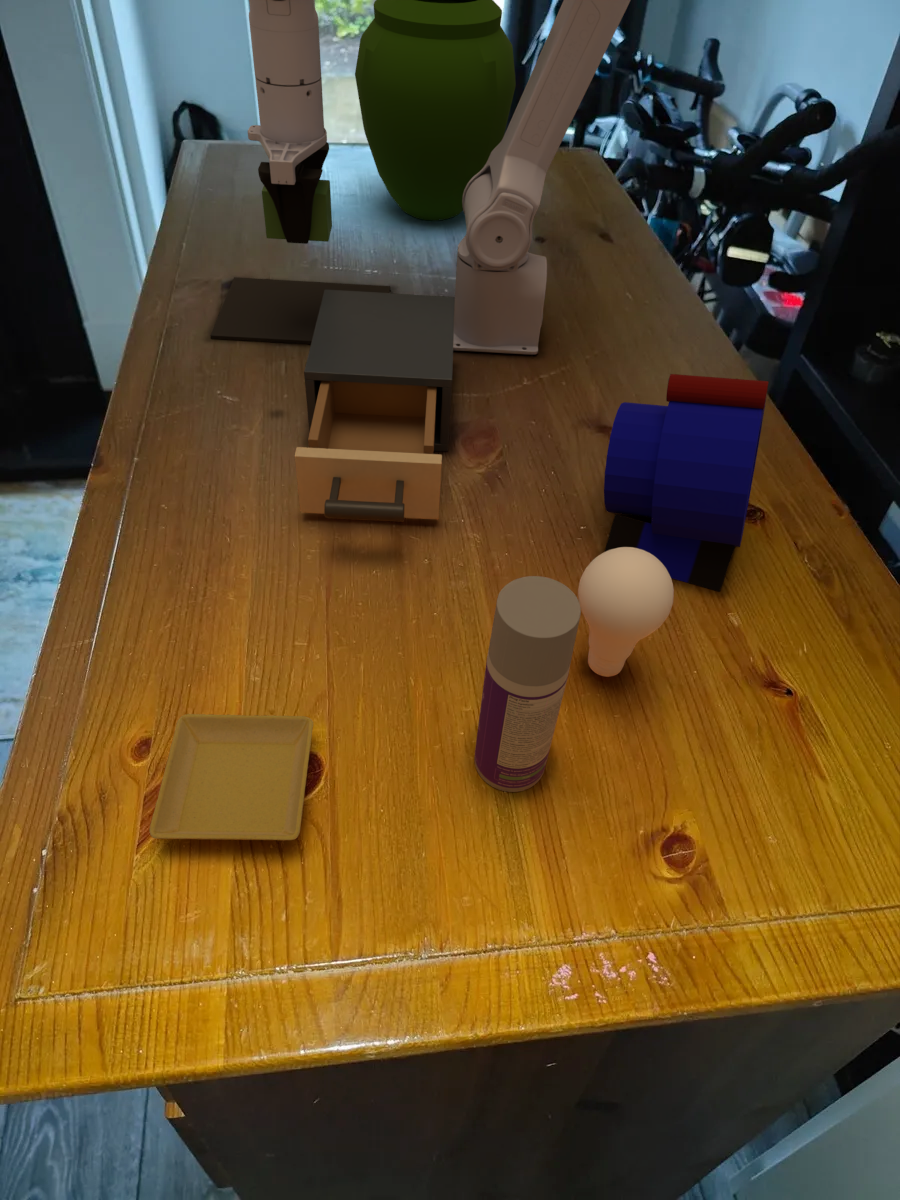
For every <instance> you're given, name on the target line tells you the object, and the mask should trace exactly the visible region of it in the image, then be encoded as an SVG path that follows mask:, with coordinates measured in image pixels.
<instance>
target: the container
mask: <svg viewBox="0 0 900 1200" xmlns="http://www.w3.org/2000/svg"><path fill="white" fill-rule="evenodd" d="M581 615H582V611H581V607H580V603H579V598H578V596H577V595H576V594H575V593H574V591H572V589H571V588H569V587H568V586H567V585H565V584H564V583H562V582H560V581H558V580H556V579H554V578H551V577H545V576H541V575H528V576H522V577H518V578H515V579H513V580H512V581H510V582H508V583H506V584H505V585H504V586H503V587H502V589H501V590H500V591H499V593H498V595H497V599H496V604H495V610H494V615H493V621H492V628H491V633H490V640H489V645H488V649H487V650H488V651H487V656H486V662H485V670H484V678H483V685H482V693H481V701H480V710H479V716H478V723H477V725H478V726H477V734H476V741H475V748H474V767H475V769H476V772H477V774H478V775H479V776H480V778H481V779H482V780H483V781H484V782H485V783H486V784H487V785H489V786H490V787H492V788H493V789H496V790H499V791H502V792H505V793H506V792H508V793H518V792H523V791H527V790H529V789H531V788H532V787H534V786H536V784H537V783H539V781H540V780H541V779H542V777H543V775H544V773H545V769H546V766H547V762H548V758H549V755H550V750H551V746H552V742H553V738H554V734H555V730H556V726H557V722H558V719H559V714H560V710H561V706H562V702H563V699H564V698H563V697H564V694H565V691H566V686H567V681H568V677H569V675H570V674H569V673H570V668H571V663H572V659H573V653H574V648H575V644H576V643H575V642H576V639H577V634H578V630H579V624H580V621H581V620H580V619H581Z"/></svg>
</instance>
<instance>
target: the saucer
mask: <svg viewBox="0 0 900 1200" xmlns="http://www.w3.org/2000/svg"><path fill="white" fill-rule="evenodd" d="M313 730H314V721H313V719H312V718H311V717H308V716H304V715H274V714H273V715H265V714H264V715H259V714H256V715H255V714H254V715H244V714H242V715H241V714H210V713H209V714H205V713H185V714H183V715H181V716H180V717H179V718H178V719H177V721H176V725H175V729H174V733H173V737H172V741H171V745H170V748H169V753H168V755H167V759H166V764H165V767H164V773H163V776H162V778H161V779H162V780H161V783H160V787H159V791H158V795H157V799H156V802H155V805H154V806H155V807H154V810H153V814H152V817H151V822H150V824H149V830H148V831H149V835H150V837H151V838H153V839H155V840H227V841H228V840H229V841H230V840H231V841H233V840H236V841H242V840H243V841H294V840H296V839H298V837H299V835H300V833H301V824H302V818H303V808H304V801H305V794H306V793H305V792H306V784H307V778H308V777H307V776H308V768H309V760H310V753H311V752H310V751H311V745H312V744H311V743H312V737H313Z"/></svg>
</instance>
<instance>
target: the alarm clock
mask: <svg viewBox="0 0 900 1200" xmlns="http://www.w3.org/2000/svg"><path fill="white" fill-rule="evenodd" d="M769 382H770V381H768V380H755V379H745V378H744V379H743V378H742V379H741V378H730V377H716V376H706V375H705V376H702V375H692V374H691V375H689V374H676V373H670V374H669V378H668V382H667V387H666V395H665V398H666V399H665V401H666V402H668V404H667V405H660V404H650V403H649V404H648V403H637V402H627V401H624V402H622V403H620V405H619V407H618V408H617V411H616V414H615V417H614V420H613V423H612V426H611V427H612V428H611V431H610V436H609V442H608V447H607V451H606V461H605V468H604V482H603V503H604V506H605V507H604V509H605V511H606V512H607V513H608V514H609V513H610V514H614V517H613V520H612V524H611V527H610V532H609V533H608V534H609V535H608V538H607V542H606V544H605V549H604V552H606V551H608V550H611V549H615V548H619V547H633V548H638V549H641V550H644V551H646V552H649V553H650V554H652V555H654V556H655V557H656V558H657V559H658V560H659V561H660V562H661V563H662V564H663V565H664V566H665V568H666V569H667V571H668V573H669V575H670V577H671V579H673V580H677V581H680V582H684V583H686V584H687V583H688V584H690V585H695V586H697V587H701V588H705V589H708V590H712V591H715V592H718V593H720V592H721V590H722V587H723V584H724V580H725V578H726V575H727V572H728V569H729V566H730V563H731V560H732V558H733V554H734V552H735V548H741V544H742V539H743V535H744V529H745V525H746V519H747V513H748V509H749V507H748V506H749V504H750V503H749V502H750V498H751V497H750V496H751V491H752V485H753V481H754V474H755V468H756V463H757V458H758V457H757V456H758V451H759V445H760V439H761V433H762V427H763V421H764V416H765V415H764V414H765V408H766V403H767V394H768V388H769ZM628 516H631V517H628ZM633 516H634V517H641V518H648V519H651V521H650V522H651V523H650V522H647V521H643V520H640V519H636V518H632V517H633ZM604 552H603V553H604Z"/></svg>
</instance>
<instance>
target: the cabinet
mask: <svg viewBox="0 0 900 1200" xmlns="http://www.w3.org/2000/svg"><path fill="white" fill-rule="evenodd" d="M454 305H455V296H448V295H447V296H446V295H445V296H444V295H429V294H412V293H411V294H410V293H394V292H393V293H392V292H390V293H377V292H359V291H342V290H324V294H323V298H322V302H321V306H320V310H319V314H318V318H317V322H316V326H315V330H314V334H313V338H312V342H311V344H310V347H309V351H308V355H307V359H306V362H305V367H304V371H303V374H304V375H303V376H304V386H305V398H306V409H307V421H308V433H310V428H311V424H312V419H313V415H314V410H315V406H316V401H317V397H318V392H319V388H320V383H321V380H322V381H340V382H359V383H377V384H396V385H414V386H432V387H437V394H436V416H435V436H434V452H448V451H449V438H450V426H451V424H450V423H451V408H452V389H453V373H454V372H453V370H454V369H453V367H454V366H453V365H454V350H453V339H454Z"/></svg>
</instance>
